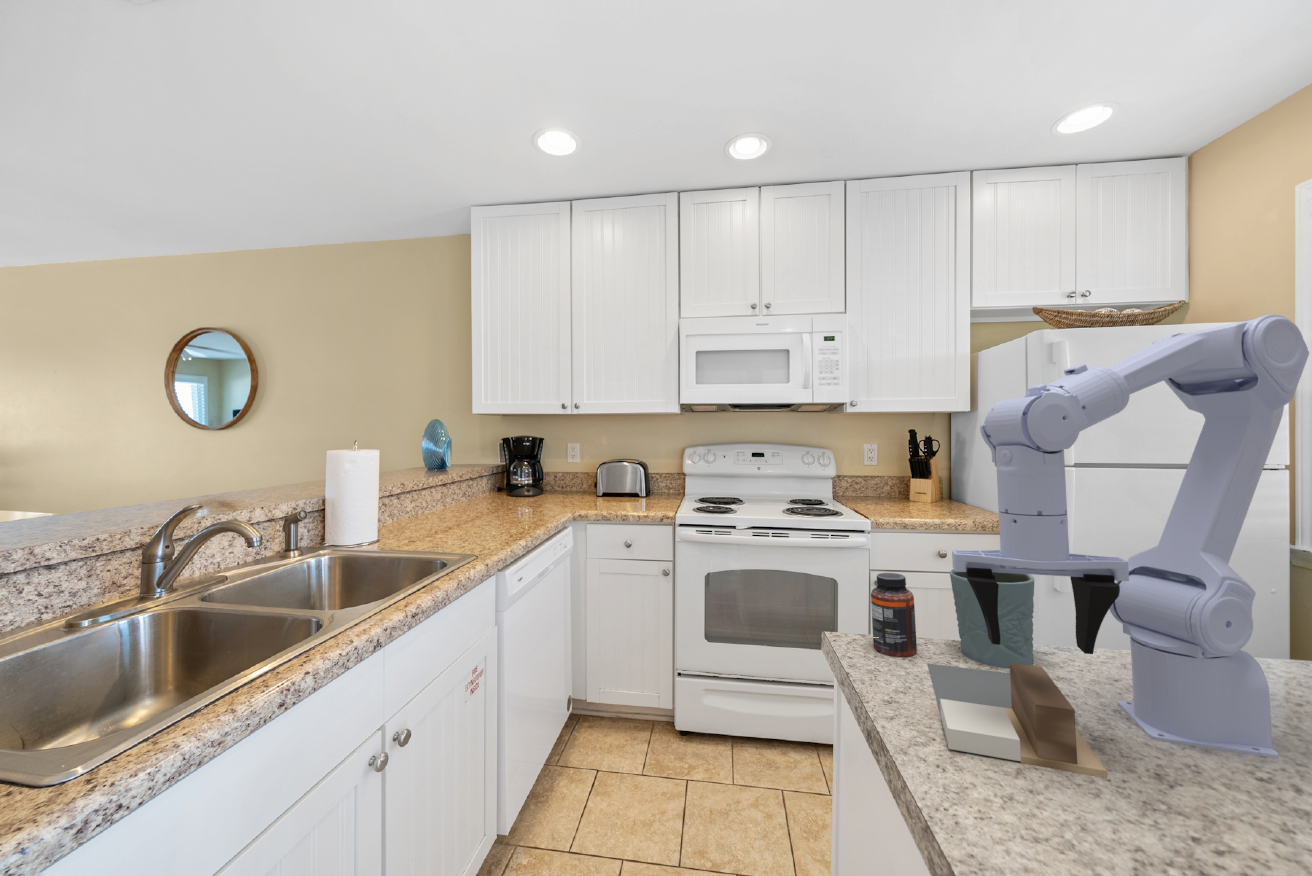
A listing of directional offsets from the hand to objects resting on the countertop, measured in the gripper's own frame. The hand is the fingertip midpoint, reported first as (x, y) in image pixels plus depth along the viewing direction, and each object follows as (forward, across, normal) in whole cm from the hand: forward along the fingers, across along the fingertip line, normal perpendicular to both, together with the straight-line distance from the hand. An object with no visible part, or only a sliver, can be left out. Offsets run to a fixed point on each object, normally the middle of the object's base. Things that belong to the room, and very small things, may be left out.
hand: (1038, 645), depth 52 cm
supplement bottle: (+10, +13, -21) cm, 27 cm away
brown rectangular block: (+9, 0, 0) cm, 9 cm away
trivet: (+10, 0, 0) cm, 10 cm away
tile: (+8, +6, -1) cm, 10 cm away
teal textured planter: (+10, 0, -23) cm, 25 cm away
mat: (+10, +3, -6) cm, 12 cm away
